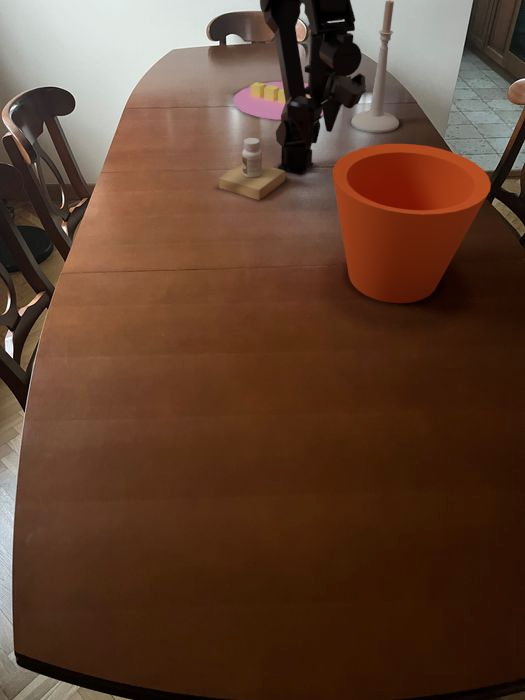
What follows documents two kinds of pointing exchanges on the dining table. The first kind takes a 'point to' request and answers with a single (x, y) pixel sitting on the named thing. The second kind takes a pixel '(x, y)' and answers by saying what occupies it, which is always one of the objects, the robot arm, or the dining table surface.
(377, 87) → the candlestick
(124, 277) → the dining table surface
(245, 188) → the birch board
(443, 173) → the flowerpot
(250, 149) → the pill bottle
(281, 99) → the platter
